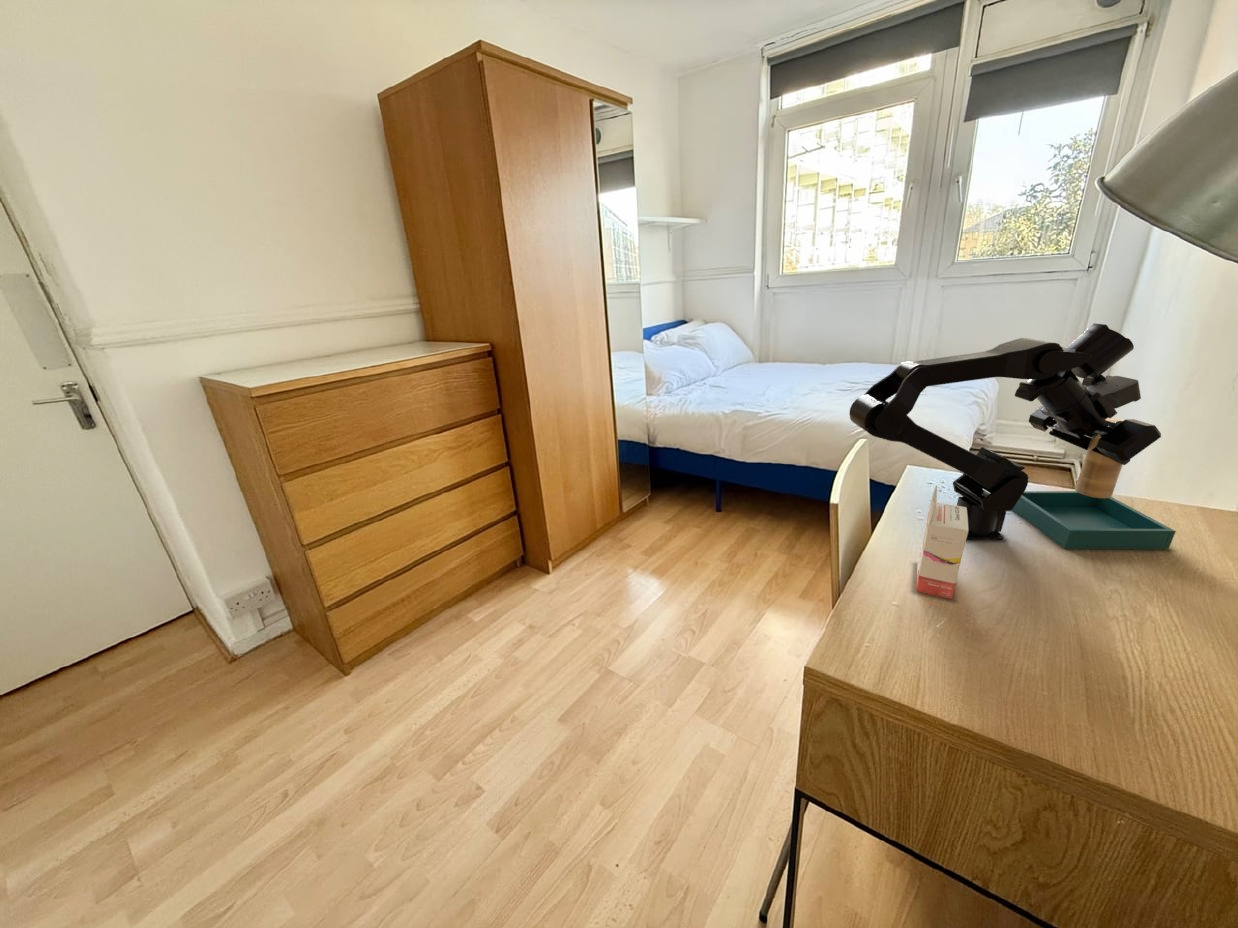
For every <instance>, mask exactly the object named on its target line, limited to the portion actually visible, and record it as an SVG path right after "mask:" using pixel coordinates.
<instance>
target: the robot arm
mask: <svg viewBox="0 0 1238 928" xmlns="http://www.w3.org/2000/svg"><path fill="white" fill-rule="evenodd" d="M1134 345H1135V344H1134V343H1133V342H1132V340H1131V339H1130V338H1129V337H1126V336H1124V335H1123V334H1122V333H1120V332H1118V331H1116V330H1113V329H1111V328H1110V327H1109V325H1108V324H1105V323H1096V322H1093V324H1091V325H1090V326H1088V328H1087V329H1085V331H1084V332H1083V333H1082V334H1081V335H1079V336H1078V337H1077V338H1076V339H1074V340H1073V341H1072V342H1071V343H1070V344H1069V345H1067V346H1066V347H1063V346H1061V345H1060V344H1059V343H1057V342H1054V341H1053V342H1052V341H1046V340H1041V339H1035V338H1030V337H1029V338H1027V337H1019V338H1016V339H1013V340H1009V341H1007V342H1003V343H1000V344H998V345H997V346H994V347H993V348H992V349H988V350H984V351H977V352H971V353H965V354H958V355H950V356H944V357H936V358H929V359H922V360H906V361H903V362H901V363H900V364H898V365H897V366H896V367H895V369H893V370H892V372H890V373H889V374H888V375H887V376H885V377H883V378H882V379H880V380H878V381H877V382H875V383H873V385H872V386H870V388H869V389H868V390H867V391H866V392H865V393H864V394H863V395H860V396H859V397H858V398H856V399H855V400H854V401H852V403H851V406H850V408H849V419H850V421H851V422H852V423H853V424H855V425H856V426H857V427H859V428H860V429H862V430H863V431H865V432H866V433H867V434H869V435H870V436H873V437H874V438H878V439H882V440H885V441H888V442H895V443H902V444H905V445H907V446H909V447H911V448H913V449H915V450H917V451H919V452H921V453H923V454H925V455H927V456H929V457H931V458H933V459H934V460H937V461H939V462H941V463H943V464H945V465H947V466H948V467H951V468H953V469H955V470H957V471H959V472H960V473H961V474H962V475H960V476H958V478H956V479H955V480H954V481H952V487H953V491H954V493H956V494H959V495H960V496H958V497H957V502H956V506H962V507H966V508H967V516H968V535H967V538H966V540H997V541H999V540H1001V541H1002V540H1004V538H1005V536H1004V535H1003V534H1001V533H1000V532H1002V530H1003V526H1004V522H1005V519H1006V515H1007V512H1011V511H1013V510H1012V509H1013V508H1014V506H1015V505H1016V503H1017V502H1018V500H1019V499H1020V497H1021V496H1022V494H1023V493H1024V491H1027V487H1028V484H1029V479H1030V477H1029V474H1027V473H1026V472H1025V471H1023V470H1025V468H1026V467H1025V466H1023V465H1021V464H1019V463H1017V462H1015V461H1014V460H1011V459H1009V458H1007V457H1005V456H1004V455H1001V454H999V453H997V452H996V451H992V450H991V449H989V448H987V447H985V446H980V448H979V450H978V452H974V451H970V450H968V449H966V448H964V447H962V446H959V445H958V444H957V443H954V442H952V441H951V440H948V439H946V438H944V437H942V436H940V435H939V434H936V433H934V432H932V431H930V430H928V429H927V428H925V427H923V426H920V425H919V424H917V423H916V422H915V421H914V420H913V419H912V418H911V417H910V416H909V414H910V413H911V412H912V410H913V409H914V407H915V405H916V403H917V401H918V399H919V397H920V395H921V393H923V392H924V390H925V389H926V388H928V387H934V386H941V385H948V384H949V385H950V384H955V383H963V382H971V381H977V380H985V379H991V378H1008V379H1018V380H1026V381H1021V382H1019V384H1018V388H1017V389H1016V390H1015V393H1014V397H1016V398H1018V399H1021V400H1024V401H1026V402H1027V401H1028V402H1030V403H1031V402H1034V401H1035V400H1037V401H1038V402H1039V403H1040V404H1041V405H1040V406H1039V407H1038V408H1036V409H1035V410H1034V411H1033V412H1032V413H1031V414H1029V418H1028V423H1029V424H1030V425H1031V426H1032V428H1034V429H1036V430H1039V431H1042V432H1047V431H1048V430H1049V428H1050V429H1051V430H1050V431H1049V432H1048V434H1049V435H1050V436H1052V437H1055V438H1057V439H1059V440H1062V441H1064V442H1065V443H1066V442H1067V443H1068V444H1071V445H1073V446H1075V447H1078V448H1081V449H1083V450H1084V451H1087V449H1088V446H1089V443H1090V440H1091V438H1095V437H1096V436H1097V435H1098V434H1099V435H1101V436H1099V437H1100V439H1099V440H1098V443H1097V446H1096V447H1095V448H1093V449H1092V450H1091V451H1093V452H1095V453H1098V454H1100V455H1102V456H1104V457H1107V458H1109V459H1111V460H1113V461H1115V462H1118V463H1120V464H1122V466H1126V465H1128V464H1129V463H1130V462H1131V459H1133V458H1134V457H1135V456H1137V455H1138V454H1140V453H1141V452H1143V451H1144V450H1145V449H1147V448H1148V447H1149V446H1151V445H1152V444H1153V443H1155V442H1156V441H1158V440H1159V439H1160V438H1162V433H1161V430H1159V428H1158V427H1157V425H1155V424H1152V423H1148V422H1145V421H1141V420H1138V419H1134V418H1133V419H1132V418H1130V419H1128V418H1127V419H1123V420H1124V421H1117V422H1114V423H1113V422H1110V421H1106V420H1105V419H1107V418H1112V419H1113V417H1115V416H1116V415H1117V414H1118V411H1117V410H1116V409H1120V408H1121V407H1124V406H1126V405H1129V404H1130V403H1132V402H1134V403H1135V402H1138V401H1139V400H1141V399H1142V395H1141V390H1140V382H1139V380H1138V379H1135V378H1131V377H1126V376H1122V375H1109V374H1107V375H1105V376H1104V375H1103V374H1104V373H1105V372H1106V371H1108V370H1109V369H1111V367H1113V366H1114V365H1116V364H1117V363H1118V362H1119V361H1120V360H1122V359H1123V358H1124V357H1126V356H1127V355H1128V354H1130V353H1131V352H1133V350H1134V348H1135V346H1134ZM1079 378H1081V379H1082V381H1080V379H1079ZM893 396H894V397H893ZM891 397H893V398H892V399H891V400H890V401H887V400H888V399H890V398H891Z"/></svg>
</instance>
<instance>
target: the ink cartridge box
mask: <svg viewBox="0 0 1238 928" xmlns="http://www.w3.org/2000/svg"><path fill="white" fill-rule="evenodd" d="M937 500H938V485H935V487H934V490H933V493H932V497H931V500H930V502H929V507H928V511H927V516H926V519H925V520H926V521H925V526H924V531H923V536H922V539H921V540H922V541H921V546H920V551H919V554H918V560H917V569H916V572H917V573H916V592H920V593H924V594H928V595H932V596H936V597H941V598H944V599H949V600H952V599H953V595H954V592H955V587H956V584H957V579H958V575H959V570H960V566H961V562H962V557H963V554H964V549H965V546H966V542H967V539H966V538H967V535H968V516H967V508H966V507H962V506H957V504H956V505H955V504H949V503H942V502H937Z"/></svg>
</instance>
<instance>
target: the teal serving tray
mask: <svg viewBox="0 0 1238 928" xmlns="http://www.w3.org/2000/svg"><path fill="white" fill-rule="evenodd" d="M1011 511H1012V512H1013V513H1015V514H1017V515H1018V516H1019V517H1021V518H1022V519H1023V520H1025V521H1026V522H1028V523H1029V524H1030V525H1032V526H1033V527H1034V528H1036V529H1037V530H1039V531H1040V532H1042V533H1043V534H1044V535H1045V536H1047V537H1048V538H1050V539H1051V540H1052V541H1054V542H1055V543H1056V544H1058V546H1060V547H1062V548H1063V549H1065V550H1067V549H1070V550H1072V549H1073V550H1074V549H1079V550H1081V549H1084V550H1086V549H1087V550H1170V547H1171V545H1172V542H1173V539H1174V537H1175V534H1176V532H1177V531H1176V530H1174V529H1173V528H1171V527H1169V526H1167V525H1165V524H1163V523H1161V522H1160V521H1158V520H1156V519H1154V518H1153V517H1151V516H1149V515H1146V514H1144V513H1143V512H1141V511H1139V510H1137V509H1135V508H1133V507H1132V506H1129V505H1127V504H1126V503H1124V502H1122V501H1120V500H1118V499H1116V498H1114V497H1113V496H1111V497H1110V498H1095V497H1090V496H1086V495H1083V494H1080V493H1078V492H1077V491H1076V490H1059V491H1058V490H1057V491H1056V490H1048V491H1047V490H1039V491H1036V490H1035V491H1034V490H1033V491H1032V490H1031V491H1030V490H1029V491H1027V490H1025V491H1024V493H1023V494H1022V496H1021V497H1020V499H1019V500H1018V502H1017V503H1016V505H1015V506H1014V508H1013V509H1012V510H1011Z"/></svg>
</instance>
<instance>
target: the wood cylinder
mask: <svg viewBox="0 0 1238 928" xmlns="http://www.w3.org/2000/svg"><path fill="white" fill-rule="evenodd" d="M1105 420H1106V421H1110V422H1113V423H1114V422H1117V421H1124V420H1125V419H1121V418H1113V417H1112V418H1107V419H1105ZM1099 436H1101V435H1099V434H1098V435H1097V436H1096V437H1095V438H1091V440H1090V443H1089V446H1088V449H1087V450H1086V453H1085V456H1084V459H1083V463H1082V466H1081V468H1080V472H1079V475H1078V479H1077V480H1076V481H1077V482H1076V485H1075V488H1074V491H1077V492H1078V493H1080V494H1083V495H1086V496H1090V497H1095V498H1110V497H1113V494H1114V491H1115V488H1116V485H1117V482H1118V479H1119V477H1120V474H1121V471H1122V469H1123V468H1122V467H1123V465H1122V464H1120V463H1118V462H1115V461H1113V460H1111V459H1109V458H1107V457H1104V456H1102V455H1100V454H1098V453H1095V452H1093V451H1091V450H1092V449H1093V448H1095V447H1096V446H1097V443H1098V440H1099V439H1100V437H1099Z"/></svg>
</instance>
